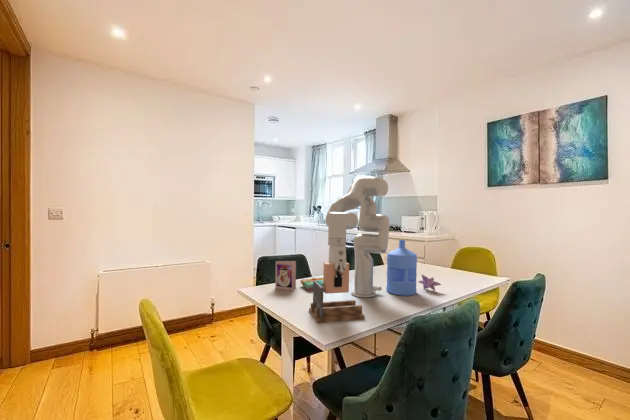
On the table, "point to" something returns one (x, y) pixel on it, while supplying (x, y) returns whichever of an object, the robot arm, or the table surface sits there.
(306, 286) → the puzzle game
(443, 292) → the table surface
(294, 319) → the table surface
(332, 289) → the book
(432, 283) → the lily
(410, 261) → the water jug
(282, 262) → the greeting card
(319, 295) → the book rack
